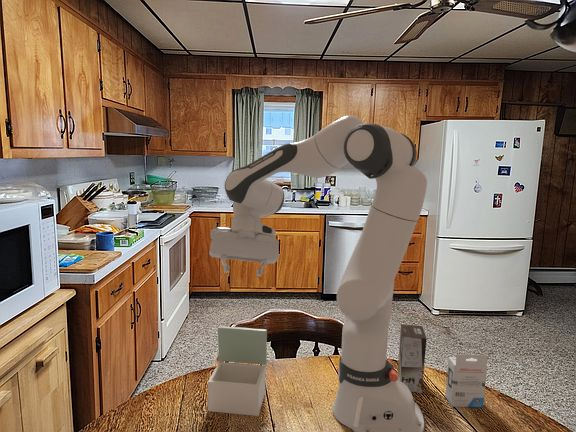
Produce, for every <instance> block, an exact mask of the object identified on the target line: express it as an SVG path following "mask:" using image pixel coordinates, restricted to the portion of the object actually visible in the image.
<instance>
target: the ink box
mask: <svg viewBox="0 0 576 432" xmlns="http://www.w3.org/2000/svg"><path fill="white" fill-rule="evenodd" d="M447 358H448V359H447V370H446V386H445V395H444V397H445V398H446V399H447V401H448V403H449V404H450V406H451V407H457V408H484V404H485V403H484V401H485V393H486V392H485V391H486V383H487V382H486V381H487V374H488V373H487V372H488V366H487V364H488V355H487V354H456V355H455V357H454V356H448V357H447Z"/></svg>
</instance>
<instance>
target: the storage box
mask: <svg viewBox="0 0 576 432" xmlns="http://www.w3.org/2000/svg"><path fill="white" fill-rule="evenodd" d="M266 374H267V366H266V365H263V364H251V363H239V362H226V361H218V364H217V365H216V367H215V368H214V370H213V372H212V374H211V375H210V377H209V379H208V380H207V411H208V412H214V413H224V414H225V413H226V414H233V415H234V414H235V415H242V416H243V415H244V416H254V417H259V415H260V413H261V408H262V406H263V402H264V399H265V396H266V386H267V385H266V384H267V383H266V379H267V377H266V376H267V375H266Z"/></svg>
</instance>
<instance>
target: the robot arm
mask: <svg viewBox="0 0 576 432" xmlns="http://www.w3.org/2000/svg"><path fill="white" fill-rule="evenodd" d="M416 159H417V148H416V145H415V143H414V142H413V141H412V139H411V138H410V137H408V135H406V134H403V133H401V132H398V131H396V130H395V129H394V128H392V127H389V126H384V125H380V124H377V123H369V122H367V123H364V122H363V120H362V119H360V118H359V117H357V116H354V115H345V116H342V117H340V118H339V119H337V120H334V121H333V122H332V123H330V124H328V125H326V126H325V127H323V128H321V130H319V131H318V132H316V133H315V134H313V135H312V136H310V137H308V138H306V139H303V140H300V141H297V142H291V143H285V144H281V145H280V146H278V147H277V148H275V149H272V150H271V151H269V152H267V153H266V154H264V155H262V156H261V157H259V158H257V159H256V160H254V161H252V162H250V163H248V164H247V165H244V166H240V167H238V168H235V169H234V170H232V171H231V172H230V173H229V174H228V176H227V177H226V180H225V181H224V190H225V194H226V195H227V198H228V200H229V201H231V202H233V203H232V205H233V206H232V211H233V216H232V219H231V228H229V227H220V226H216V227H214V228H212V229H211V230H210V234H209V237H210V239H211V243H210V247H209V252H208V254H209V256H210V257H211V258H216V259H217V258H218V259H220V263H221V264H222V266H223V267H224V268H223V273H226V274H227V273H228V274H229V273H230V270H231V269H230V268H231V265H229V264H228V263H227V260H233V261H234V260H235V261H242V262H243V261H245V262H254V263H260V266H261V267H260V268H259V267H258V268H256V271H255V272H256V274H255V275H256V277H262V276H263V271H264V269H265V267H266V266H267V265H268V264H272V265H274V264H275V263H276V262H278V260H279V257H280V251H279V250H280V249H279V242H278V240H277V238H276V229H275V228H273V227H271V226H269V225H266V224H264V223H262V220H261V219H262V218H266V217H269V216H272V215H275V214H276V213H278V212H280V210H282V208H283V205H284V202H285V192H284V188H283V187H282V186H280V185H278V184H276V183H274V182H272V181H271V180H269V179H268V178H270V177H272V176H274V175H276V174H279V173H294V174H297V175H298V174H299V175H303V176H306V177H308V178H309V177H310V178H314V179H315V178H316V179H323V178H326V177H328V176H331V175H332V174H334V173H336V172H337V171H339V170H341V168H343V167H345V166H346V165H347V164H351V166H352V167H353V168H355V169H356V170H358V171H359V172H360V173H362V174H363V175H364V176H365V177H367V178H368V179H369V180H373V179H374V180H375V182H376V191H375V194H374V196H373V199H372V202H371V205H370V207H369V210H368V213H367V216H366V219H365V223H364V225H363V228H362V231H361V234H360V237H359V239H358V240H357V243H356V245H355V247H354V249H353V251H352V254H351V256H350V258H349V260H348V263H347V265H346V268H345V270H344V273H343V275H342V277H341V281H340V283H339V285H338V288H337V292H336V304H337V306H338V308H339V310H340V312H341V313H342V314H343V315H344V316H345V318H344V322H343V326H342V331H341V332H342V333H341V335H342V336H341V351H340V352H341V355H340V356H339V360H338V361H339V362H338V368H337V370H338V371H337V372H338V373H337V374H338V375H337V377H338V386H337V391H336V392H337V393H336V396H335V399H334V402H333V405H332V407H331V408H332V414H333V416H334V418H335V419H336V420H337V421H338V422H339V423H341V424H343V425H344V426H345V427H347V428H349V429H351V430H352V431H353V432H424V431H425V417H424V415H423V412H422V409H421V408H420V406H419V405H418V404H417V403H416V402H415V400H414V397H413V394H412V392H410V390H409V388H408V387H407V386H406V385H405V384H404V383H403V382H401V381H400V380H399V379H398V371H396V370H395V367H394V364H392V361H391V359H388V360H387V352H388V351H387V350H388V339H389V337H388V336H389V329H390V320H391V313H392V306H393V297H394V289H395V288H394V287H395V279H396V276H397V274H398V272H399V269H400V266H401V264H402V261H403V259H404V258H405V255H406V253H407V250H408V247H409V244H410V242H411V239H412V237H413V233H414V231H415V229H416V226H417V224H418V221H419V218H420V215H421V213H422V209H423V207H424V201H425V197H426V193H427V187H428V180H427V177H426V176H425V174H424V173H423V172H422V171H421V170H420V169H418V168H417V167H414V164H415V162H416Z"/></svg>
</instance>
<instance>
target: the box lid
mask: <svg viewBox="0 0 576 432" xmlns="http://www.w3.org/2000/svg"><path fill="white" fill-rule="evenodd" d="M267 337H268V333H267V329H263V328H249V327H239V326H238V327H237V326H236V327H235V326H222V325H220V326H219V325H218V327H217V340H218V341H217V342H218V343H217V344H218V362H226V363H238V364H250V365H263V366H266V365H267V363H268V356H267V355H268V353H267V352H268V350H267V348H268V347H267V346H268V344H267V341H268V338H267Z"/></svg>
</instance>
